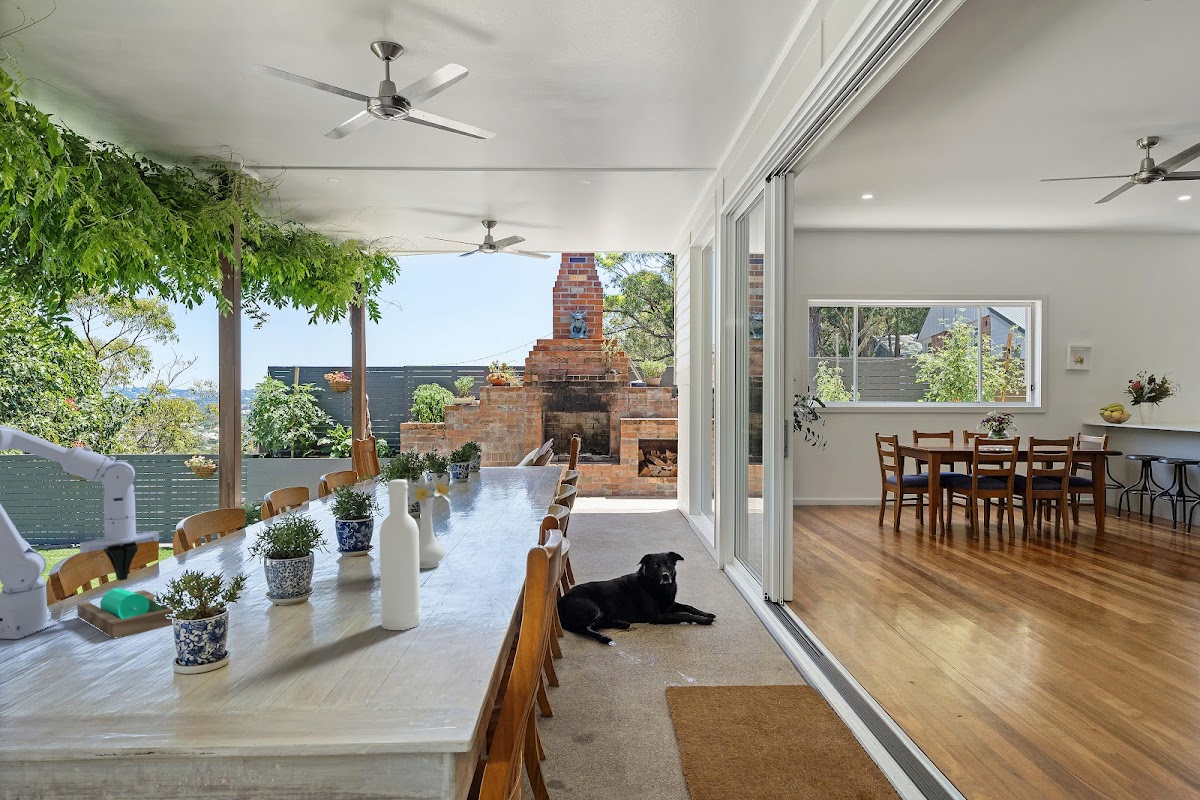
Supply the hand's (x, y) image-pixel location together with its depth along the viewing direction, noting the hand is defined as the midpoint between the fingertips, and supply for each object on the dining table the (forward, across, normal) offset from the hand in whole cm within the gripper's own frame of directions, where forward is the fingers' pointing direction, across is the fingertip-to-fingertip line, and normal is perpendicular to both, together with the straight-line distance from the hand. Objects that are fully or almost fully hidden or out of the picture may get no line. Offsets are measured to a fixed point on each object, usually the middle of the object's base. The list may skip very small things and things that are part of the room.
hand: (121, 579), depth 159 cm
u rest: (+8, 0, -4) cm, 9 cm away
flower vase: (+8, +66, -19) cm, 69 cm away
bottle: (+8, +33, -54) cm, 64 cm away
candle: (+5, -1, +2) cm, 6 cm away
